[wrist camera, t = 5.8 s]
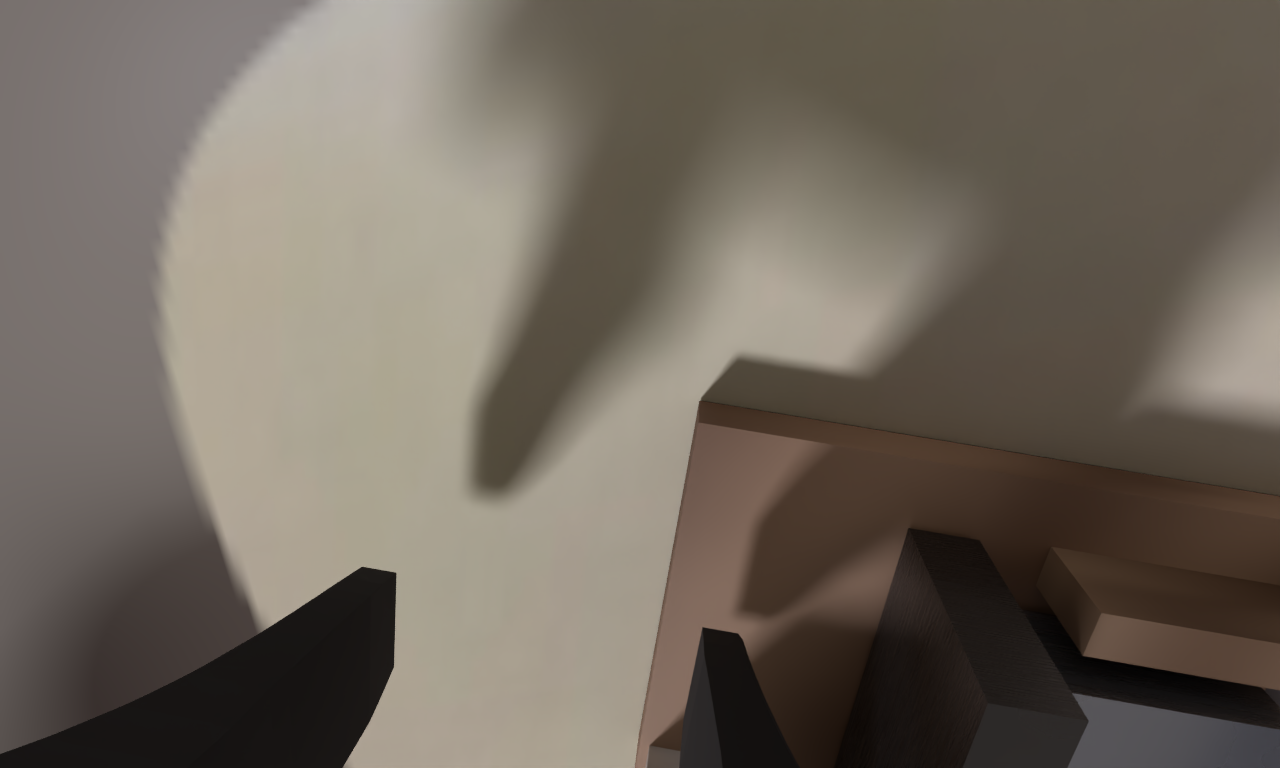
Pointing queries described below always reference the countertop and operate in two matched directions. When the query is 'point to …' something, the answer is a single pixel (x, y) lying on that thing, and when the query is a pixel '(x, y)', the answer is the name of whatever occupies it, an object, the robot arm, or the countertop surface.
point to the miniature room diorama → (954, 505)
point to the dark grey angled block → (1027, 686)
